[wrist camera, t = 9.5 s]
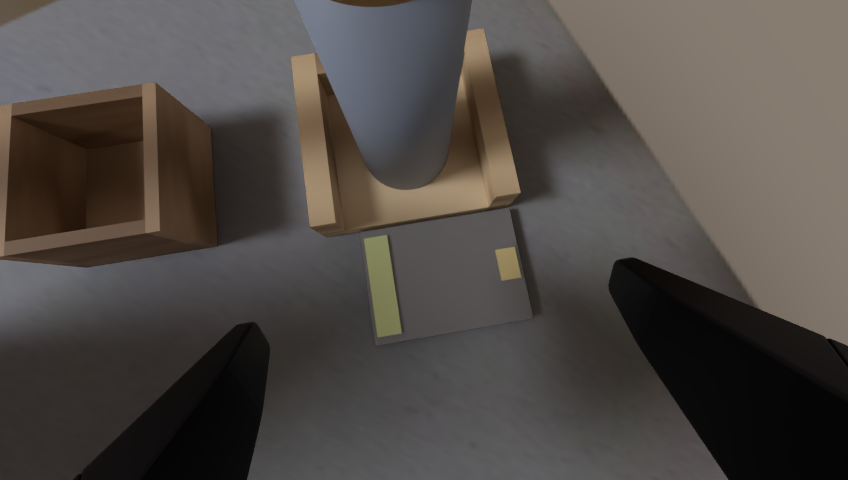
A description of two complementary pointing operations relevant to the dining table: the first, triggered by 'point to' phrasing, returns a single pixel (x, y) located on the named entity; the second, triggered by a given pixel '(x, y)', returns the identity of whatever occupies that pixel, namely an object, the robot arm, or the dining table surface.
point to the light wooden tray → (385, 207)
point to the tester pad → (444, 276)
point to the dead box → (104, 178)
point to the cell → (393, 78)
